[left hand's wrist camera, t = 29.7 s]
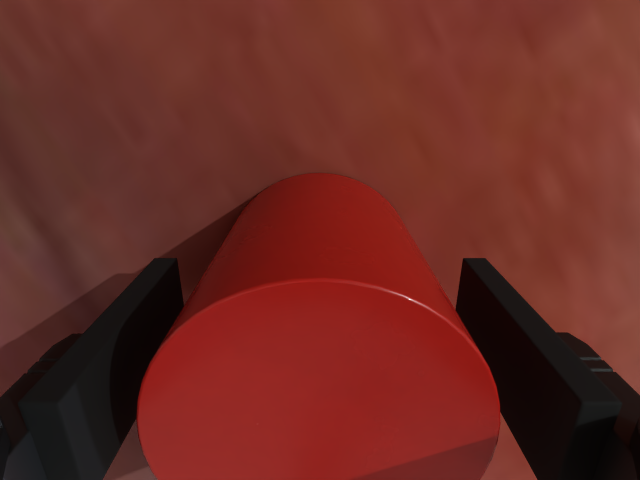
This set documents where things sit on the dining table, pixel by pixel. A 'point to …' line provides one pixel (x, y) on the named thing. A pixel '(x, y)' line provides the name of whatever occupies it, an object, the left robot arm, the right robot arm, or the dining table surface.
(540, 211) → the dining table surface
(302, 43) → the dining table surface
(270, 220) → the can
